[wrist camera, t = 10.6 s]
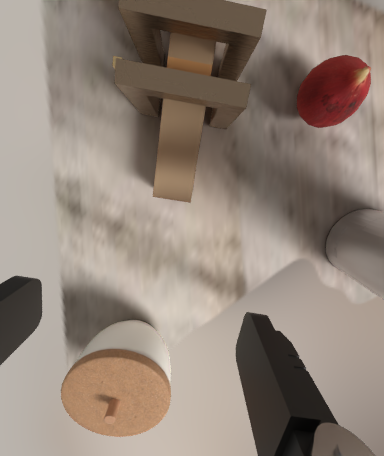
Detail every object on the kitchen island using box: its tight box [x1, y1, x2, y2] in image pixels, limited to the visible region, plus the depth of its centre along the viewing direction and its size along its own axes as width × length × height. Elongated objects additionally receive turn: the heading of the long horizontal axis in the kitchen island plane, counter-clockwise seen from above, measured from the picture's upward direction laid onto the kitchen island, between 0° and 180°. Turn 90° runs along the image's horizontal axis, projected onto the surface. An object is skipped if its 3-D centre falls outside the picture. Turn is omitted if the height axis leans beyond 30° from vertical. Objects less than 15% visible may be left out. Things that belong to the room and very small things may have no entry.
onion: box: [297, 55, 371, 128], centre depth 20 cm, size 6×6×8 cm
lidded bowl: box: [61, 320, 171, 437], centre depth 27 cm, size 13×13×11 cm
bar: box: [153, 32, 216, 202], centre depth 22 cm, size 18×4×5 cm, turn 171°
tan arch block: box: [113, 0, 266, 129], centre depth 19 cm, size 12×6×9 cm, turn 81°
